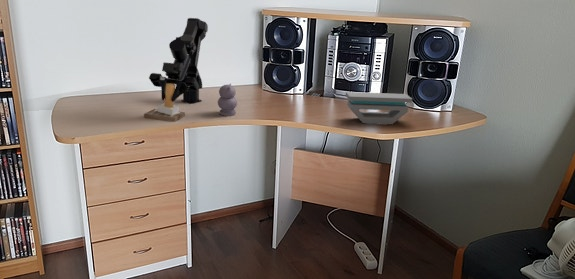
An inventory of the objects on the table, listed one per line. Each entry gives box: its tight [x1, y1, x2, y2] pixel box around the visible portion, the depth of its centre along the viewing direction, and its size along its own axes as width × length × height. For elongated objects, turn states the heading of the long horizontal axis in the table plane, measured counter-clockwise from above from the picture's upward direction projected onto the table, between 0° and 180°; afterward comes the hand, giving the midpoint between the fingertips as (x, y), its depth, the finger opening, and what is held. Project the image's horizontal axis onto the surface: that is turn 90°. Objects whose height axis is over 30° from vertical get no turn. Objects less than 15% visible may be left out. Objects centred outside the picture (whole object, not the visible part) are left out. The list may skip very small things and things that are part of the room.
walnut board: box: [143, 108, 186, 122], centre depth 168 cm, size 8×13×2 cm, turn 77°
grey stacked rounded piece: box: [217, 83, 238, 117], centre depth 175 cm, size 8×8×12 cm
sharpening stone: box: [345, 91, 413, 125], centre depth 176 cm, size 25×8×11 cm, turn 94°
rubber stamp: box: [157, 83, 180, 115], centre depth 166 cm, size 5×6×11 cm
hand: (167, 100), depth 164 cm, fingers closed on rubber stamp, 4 cm apart
